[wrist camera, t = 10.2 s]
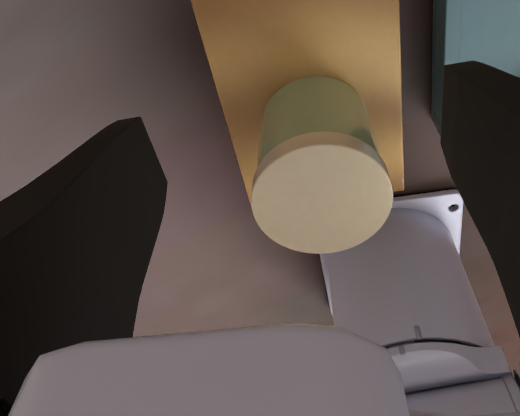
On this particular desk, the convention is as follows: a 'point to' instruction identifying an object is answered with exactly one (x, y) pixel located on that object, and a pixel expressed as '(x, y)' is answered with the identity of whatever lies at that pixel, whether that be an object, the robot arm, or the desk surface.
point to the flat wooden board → (304, 63)
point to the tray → (473, 39)
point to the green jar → (319, 169)
